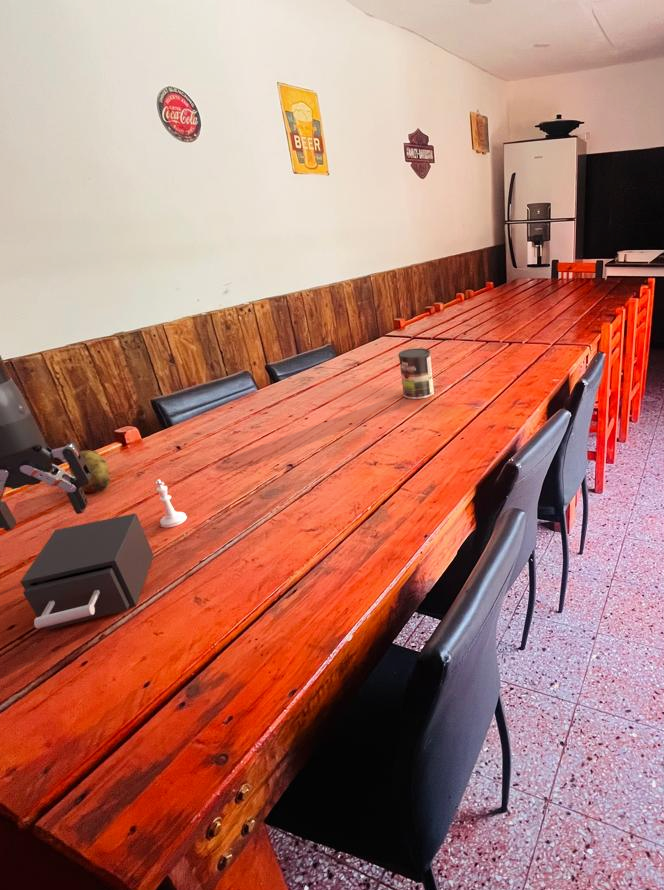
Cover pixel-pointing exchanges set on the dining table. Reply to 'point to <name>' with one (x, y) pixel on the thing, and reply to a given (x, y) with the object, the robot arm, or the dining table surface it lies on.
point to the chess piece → (169, 508)
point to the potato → (95, 472)
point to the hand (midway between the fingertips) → (47, 519)
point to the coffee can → (416, 373)
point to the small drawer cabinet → (97, 553)
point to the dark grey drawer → (76, 598)
